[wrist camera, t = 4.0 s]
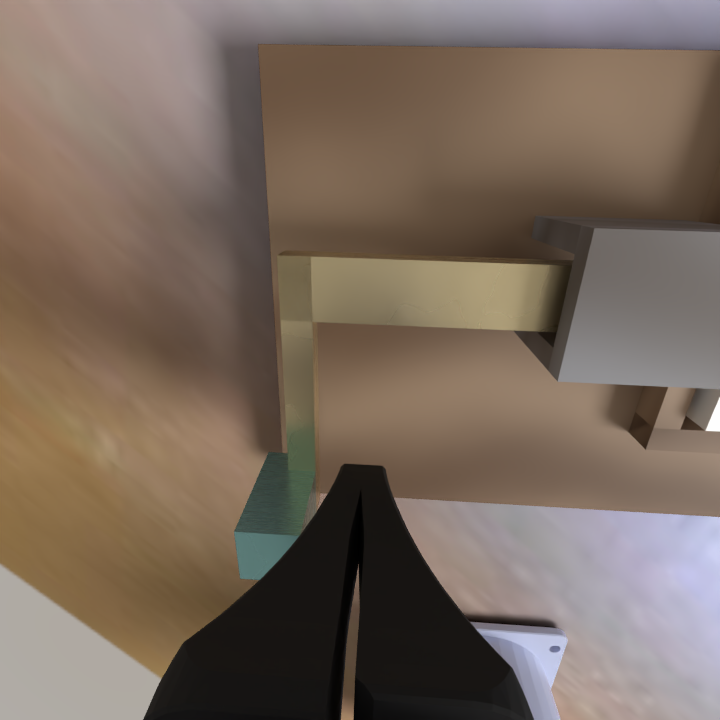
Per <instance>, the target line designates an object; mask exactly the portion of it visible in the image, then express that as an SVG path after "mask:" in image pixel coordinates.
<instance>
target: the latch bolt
mask: <svg viewBox="0 0 720 720" xmlns="http://www.w3.org/2000/svg"><path fill="white" fill-rule="evenodd" d="M572 264H573V260H549V259H520V258H492V257H463V256H434V255H406V254H377V253H348V252H320V251H291V250H284V251H283V252H281V253H280V254H278V255H277V266H278V284H279V303H280V321H281V340H282V358H283V377H284V396H285V414H286V433H287V451H288V453H275V452H269V453H268V455H267V457H266V460H265V462H264V464H263V466H262V469H261V471H260V473H259V476H258V478H257V480H256V483H255V485H254V487H253V490H252V492H251V494H250V496H249V499H248V501H247V503H246V506H245V508H244V510H243V513H242V515H241V517H240V519H239V522H238V524H237V526H236V529H235V531H234V534H235V542H236V550H237V558H238V566H239V573H240V579H254V580H260V579H261V578H262V577H263V576H264V575H265V574H266V573H267V572H268V571H269V570H270V569H271V568H272V567H273V566H274V565H275V564H276V563H277V561H278V560H279V559H280V558H281V557H282V556H283V555H284V554H285V553H286V551H287V550H288V549H289V548H290V547H291V546H292V544H293V543H294V542H295V541H296V539H297V538H298V537H299V536H300V534H301V533H302V532H303V530H304V529H305V527H306V526H307V525H308V523H309V522H310V520H311V519H312V518H313V516H314V515H315V513H316V512H317V508H318V504H319V499H320V454H319V393H318V333H317V322H325V323H349V324H373V325H396V326H420V327H444V328H467V329H491V330H515V331H538V332H557V330H558V325H559V321H560V317H561V312H562V308H563V304H564V299H565V295H566V290H567V286H568V282H569V277H570V273H571V269H572Z"/></svg>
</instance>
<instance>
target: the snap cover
mask: <svg viewBox="0 0 720 720" xmlns="http://www.w3.org/2000/svg"><path fill="white" fill-rule="evenodd" d="M686 416H687V417H688V418H689V419H691V420H692V421H693V422H695V423H696V424H697V425H699V426H700V427H701V428H702V429H704V430H705V431H719V432H720V389H702V388H696V391H695V393H694V396H693V398H692V401H691V403H690V406H689V409H688V411H687V414H686Z"/></svg>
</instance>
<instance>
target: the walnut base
mask: <svg viewBox="0 0 720 720" xmlns="http://www.w3.org/2000/svg"><path fill="white" fill-rule="evenodd" d="M258 52H259V69H260V85H261V102H262V119H263V136H264V152H265V169H266V186H267V203H268V219H269V236H270V253H271V269H272V286H273V303H274V320H275V336H276V353H277V370H278V386H279V403H280V420H281V437H282V453H288V451H287V433H286V414H285V396H284V377H283V358H282V340H281V321H280V303H279V284H278V266H277V255H278V254H280V253H281V252H283V251H284V250H291V251H320V252H348V253H377V254H406V255H434V256H463V257H492V258H520V259H549V260H573V264H572V269H571V273H570V277H569V282H568V286H567V290H566V295H565V299H564V304H563V308H562V312H561V317H560V321H559V325H558V330H557V332H538V331H515V330H491V329H467V328H444V327H420V326H396V325H373V324H349V323H325V322H317V333H318V393H319V454H320V493H329V491H330V489H331V487H332V485H333V483H334V481H335V479H336V477H337V475H338V473H339V470H340V468H341V466H342V465H343V464H363V465H380V466H383V467H384V468H385V469H386V474H387V478H388V482H389V485H390V489H391V492H392V494H393V497H396V498H412V499H429V500H446V501H462V502H479V503H496V504H513V505H529V506H546V507H563V508H580V509H596V510H613V511H630V512H646V513H663V514H680V515H697V516H713V517H720V432H719V431H705V430H704V429H702V428H701V427H700V426H699V425H697V424H696V423H695V422H693V421H692V420H691V419H689V418H688V417H687V416H686V414H687V411H688V409H689V406H690V403H691V401H692V398H693V396H694V393H695V391H696V388H702V389H720V50H648V49H575V48H502V47H429V46H355V45H282V44H258Z"/></svg>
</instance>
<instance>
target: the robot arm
mask: <svg viewBox="0 0 720 720" xmlns="http://www.w3.org/2000/svg"><path fill="white" fill-rule="evenodd" d="M358 563H359V595H360V615H359V630H358V645H357V659H356V673H355V698H354V720H561V719H560V716H559V713H558V710H557V707H556V704H555V701H554V698H553V695H552V692H551V687H552V684H553V682H554V679H555V676H556V673H557V670H558V667H559V664H560V662H561V659H562V656H563V653H564V650H565V647H566V644H567V637H566V635H565V633H564V631H563V630H561V629H559V628H550V627H536V626H522V625H508V624H494V623H480V622H470V621H469V620H468V619H467V618H466V617H465V616H464V614H463V613H462V612H461V610H460V609H459V608H458V606H457V605H456V604H455V603H454V601H453V600H452V599H451V597H450V596H449V595H448V593H447V592H446V591H445V590H444V588H443V587H442V586H441V584H440V583H439V581H438V580H437V578H436V577H435V575H434V574H433V572H432V571H431V569H430V568H429V566H428V565H427V563H426V561H425V560H424V558H423V557H422V555H421V553H420V551H419V550H418V548H417V546H416V544H415V543H414V541H413V539H412V537H411V535H410V533H409V531H408V529H407V527H406V525H405V523H404V521H403V519H402V516H401V514H400V512H399V510H398V507H397V505H396V502H395V500H394V497H393V494H392V492H391V489H390V485H389V482H388V478H387V474H386V469H385V468H384V467H383V466H380V465H363V464H343V465H342V466H341V468H340V470H339V473H338V475H337V477H336V479H335V481H334V483H333V485H332V487H331V489H330V491H329V493H328V494H327V496H326V498H325V499H324V501H323V502H322V504H321V506H320V507H319V509H318V510H317V512H316V513H315V515H314V516H313V518H312V519H311V520H310V522H309V523H308V525H307V526H306V527H305V529H304V530H303V532H302V533H301V534H300V536H299V537H298V538H297V539H296V541H295V542H294V543H293V544H292V546H291V547H290V548H289V549H288V550H287V551H286V553H285V554H284V555H283V556H282V557H281V558H280V559H279V560H278V561H277V563H276V564H275V565H274V566H273V567H272V568H271V569H270V570H269V571H268V572H267V573H266V574H265V575H264V576H263V577H262V578H261V579H260V580H259V581H258V582H257V583H256V584H255V585H254V586H253V587H252V588H251V589H249V590H248V591H247V592H246V593H245V594H244V595H243V596H241V597H240V598H239V599H238V600H237V601H236V602H235V603H234V604H232V605H231V606H230V607H229V608H228V609H227V610H225V611H224V612H223V613H222V614H221V615H219V616H218V617H217V618H215V619H214V620H213V621H211V622H210V623H209V624H208V625H206V626H205V627H204V628H202V629H201V630H200V631H198V632H197V633H196V634H194V635H193V636H192V637H190V638H189V639H188V640H186V641H185V642H184V643H183V644H182V646H181V647H180V649H179V650H178V652H177V654H176V655H175V657H174V659H173V660H172V662H171V664H170V665H169V667H168V669H167V671H166V672H165V674H164V676H163V677H162V679H161V681H160V683H159V686H158V687H157V689H156V692H155V694H154V696H153V699H152V701H151V703H150V706H149V708H148V710H147V713H146V715H145V717H144V719H143V720H341V709H342V695H343V682H344V669H345V656H346V643H347V634H348V626H349V619H350V613H351V607H352V601H353V595H354V588H355V582H356V576H357V570H358Z"/></svg>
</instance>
